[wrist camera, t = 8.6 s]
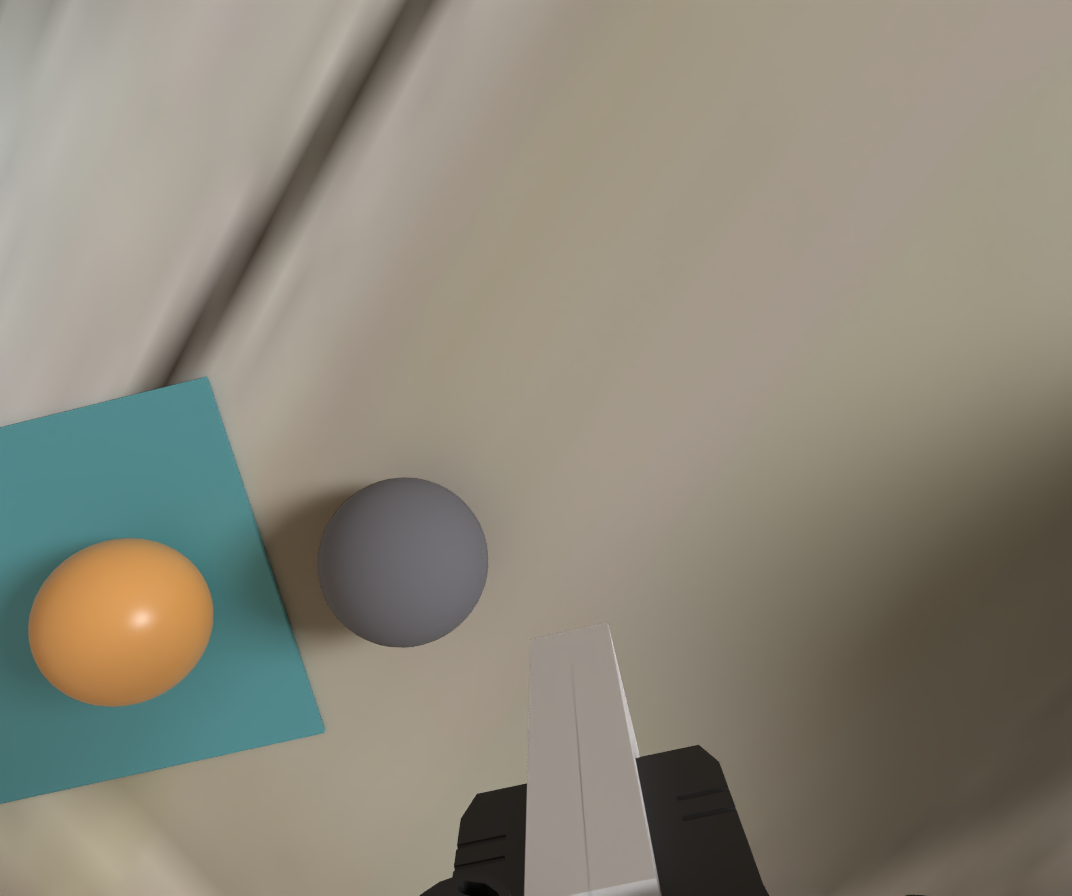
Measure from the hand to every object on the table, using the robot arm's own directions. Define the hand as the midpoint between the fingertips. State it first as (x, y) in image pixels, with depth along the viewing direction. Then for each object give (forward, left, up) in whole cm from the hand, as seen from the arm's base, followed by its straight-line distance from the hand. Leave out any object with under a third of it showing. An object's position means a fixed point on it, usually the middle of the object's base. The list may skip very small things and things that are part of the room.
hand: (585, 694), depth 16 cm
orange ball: (+15, 0, -11) cm, 19 cm away
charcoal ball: (+6, 0, -11) cm, 12 cm away
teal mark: (+18, 0, -14) cm, 23 cm away
